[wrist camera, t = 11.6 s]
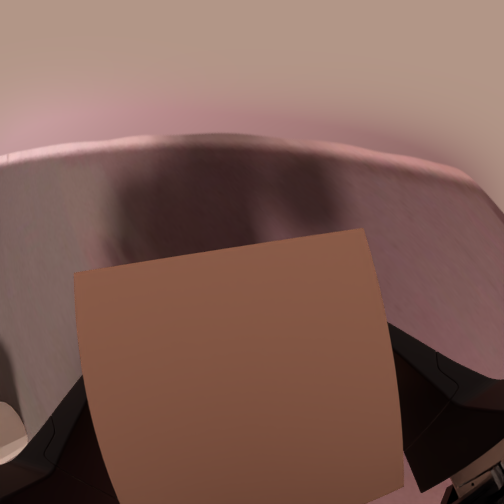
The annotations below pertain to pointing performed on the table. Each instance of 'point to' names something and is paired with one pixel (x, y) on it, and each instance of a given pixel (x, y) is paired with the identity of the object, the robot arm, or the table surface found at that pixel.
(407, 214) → the table surface
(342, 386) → the terracotta post
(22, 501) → the robot arm
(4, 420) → the white cup
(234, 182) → the table surface
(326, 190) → the table surface
